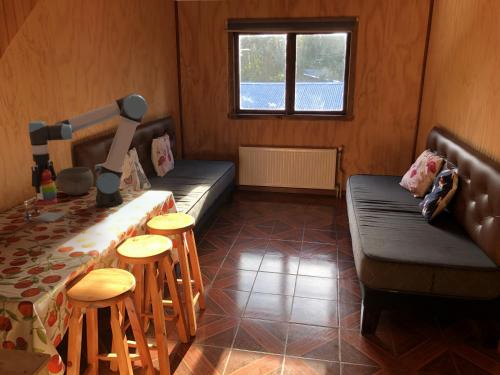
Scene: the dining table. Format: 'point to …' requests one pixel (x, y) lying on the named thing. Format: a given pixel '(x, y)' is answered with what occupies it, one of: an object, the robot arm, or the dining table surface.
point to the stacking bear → (47, 190)
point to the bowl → (75, 180)
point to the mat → (49, 217)
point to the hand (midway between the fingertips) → (46, 196)
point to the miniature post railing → (27, 209)
